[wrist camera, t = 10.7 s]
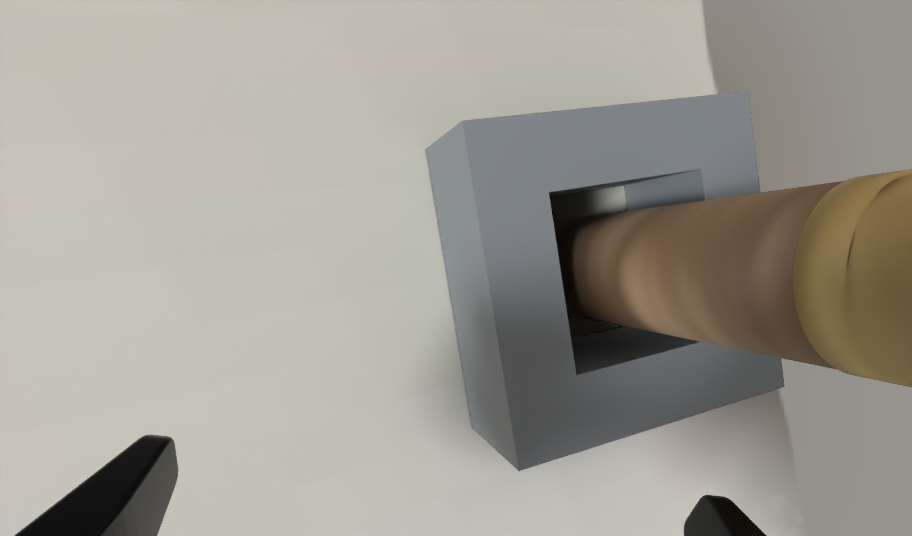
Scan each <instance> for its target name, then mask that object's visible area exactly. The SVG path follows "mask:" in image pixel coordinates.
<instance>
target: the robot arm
mask: <svg viewBox="0 0 912 536" xmlns="http://www.w3.org/2000/svg"><path fill="white" fill-rule="evenodd" d="M177 477H178V464H177V457H176V450H175V443H174V440H173V439H172V438H171V437H168V436H158V435H145V436H143V437H141V438H140V439H138V440H137V441H136V442H134V443H133V444H132V445H131V446H129V447H128V448H127V449H125V450H124V451H123V452H122V453H120V454H119V455H118V456H116V457H115V458H114V459H113V460H111V461H110V462H109V463H107V464H106V465H105V466H103V467H102V468H101V469H100V470H98V471H97V472H96V473H94V474H93V475H92V476H91V477H89V478H88V479H87V480H85V481H84V482H83V483H82V484H80V485H79V486H78V487H76V488H75V489H74V490H73V491H71V492H70V493H69V494H67V495H66V496H65V497H64V498H62V499H61V500H60V501H58V502H57V503H56V504H55V505H53V506H52V507H51V508H49V509H48V510H47V511H45V512H44V513H43V514H42V515H40V516H39V517H38V518H36V519H35V520H34V521H33V522H31V523H30V524H29V525H27V526H26V527H25V528H24V529H22V530H21V531H20V532H18V533H17V534H16V535H15V536H157V534H158V532H159V529H160V526H161V523H162V521H163V518H164V515H165V512H166V510H167V507H168V504H169V501H170V499H171V496H172V493H173V490H174V488H175V485H176V481H177ZM684 536H766V535H765V534H764V533H763V532H762V531H761V530H760V529H759V528H758V527H757V526H756V525H755V524H754V523H753V522H752V521H751V520H750V519H749V518H748V517H747V516H746V515H745V514H744V513H743V512H742V511H741V510H740V509H739V508H738V507H737V506H736V505H735V504H734V503H733V502H732V501H731V500H730V499H728V498H726V497H721V496H712V495H705V496H703V497H702V498H701V499H700V500H699V501H698V503H697V504H696V506H695V507H694V509H693V510H692V512H691V513H690V515H689V516H688V518H687V519H686V521H685V525H684Z"/></svg>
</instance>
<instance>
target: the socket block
mask: <svg viewBox="0 0 912 536" xmlns="http://www.w3.org/2000/svg"><path fill="white" fill-rule="evenodd" d="M755 153H756V152H755V144H754V136H753V128H752V119H751V112H750V103H749V96H748V91H746V92H736V93H727V94H717V95H707V96H698V97H688V98H678V99H669V100H659V101H649V102H640V103H630V104H620V105H611V106H601V107H591V108H582V109H572V110H562V111H553V112H543V113H533V114H524V115H514V116H504V117H495V118H485V119H475V120H466V121H461V122H460V123H459V124H458V125H456V126H455V127H454V128H452V129H451V130H450V131H449V132H447V133H446V134H445V135H443V136H442V137H441V138H440V139H438V140H437V141H436V142H434V143H433V144H432V145H430V146H429V147H428V148H427V149H426V155H427V161H428V167H429V173H430V179H431V185H432V191H433V197H434V203H435V209H436V215H437V221H438V227H439V233H440V239H441V245H442V251H443V257H444V263H445V269H446V275H447V281H448V287H449V293H450V299H451V305H452V311H453V317H454V323H455V329H456V335H457V341H458V347H459V353H460V359H461V365H462V371H463V377H464V383H465V389H466V395H467V401H468V407H469V413H470V419H471V425H472V428H473V429H474V430H475V431H476V432H477V433H478V434H479V435H480V436H482V437H483V438H484V439H485V440H486V441H487V442H488V443H489V444H490V445H491V446H492V447H493V448H495V449H496V450H497V451H498V452H499V453H500V454H501V455H502V456H503V457H504V458H505V459H506V460H508V461H509V462H510V463H511V464H512V465H513V466H514V467H515V468H516V469H517V470H518V471H520V470H523V469H527V468H530V467H533V466H536V465H539V464H542V463H545V462H549V461H552V460H555V459H558V458H561V457H564V456H568V455H571V454H574V453H577V452H580V451H583V450H586V449H590V448H593V447H596V446H599V445H602V444H605V443H608V442H612V441H615V440H618V439H621V438H624V437H627V436H631V435H634V434H637V433H640V432H643V431H646V430H649V429H653V428H656V427H659V426H662V425H665V424H668V423H672V422H675V421H678V420H681V419H684V418H687V417H690V416H694V415H697V414H700V413H703V412H706V411H709V410H712V409H716V408H719V407H722V406H725V405H728V404H731V403H735V402H738V401H741V400H744V399H747V398H750V397H753V396H757V395H760V394H763V393H766V392H769V391H772V390H776V389H779V388H782V387H784V380H783V371H782V363H781V358H779V357H774V356H769V355H764V354H759V353H754V352H749V351H744V350H740V349H735V348H730V347H725V346H720V345H715V344H710V343H705V342H700V341H695V340H690V339H685V338H681V337H676V336H671V335H666V334H661V333H656V332H651V331H646V330H641V329H636V328H631V327H626V326H623V327H619V328H615V329H611V330H607V331H603V332H599V333H595V334H591V335H587V336H583V337H579V338H575V339H571V336H570V329H569V322H568V316H567V309H566V303H565V296H564V289H563V283H562V276H561V270H560V263H559V256H558V250H557V243H556V237H555V230H554V223H553V217H552V210H551V203H550V197H552V196H559V195H565V194H571V193H578V192H584V191H591V190H597V189H604V188H610V187H616V186H623V185H624V187H625V195H626V202H627V209H628V211H631V210H638V209H646V208H653V207H660V206H668V205H675V204H682V203H689V202H697V201H704V200H711V199H718V198H726V197H733V196H740V195H748V194H755V193H760V185H759V177H758V169H757V160H756V154H755Z"/></svg>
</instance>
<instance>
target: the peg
mask: <svg viewBox="0 0 912 536" xmlns="http://www.w3.org/2000/svg"><path fill="white" fill-rule="evenodd" d="M554 230H555V237H556V243H557V250H558V256H559V263H560V270H561V276H562V283H563V289H564V296H565V303H566V309H567V314H568V315H572V316H577V317H582V318H587V319H592V320H597V321H602V322H607V323H612V324H617V325H622V326H626V327H631V328H636V329H641V330H646V331H651V332H656V333H661V334H666V335H671V336H676V337H681V338H685V339H690V340H695V341H700V342H705V343H710V344H715V345H720V346H725V347H730V348H735V349H740V350H744V351H749V352H754V353H759V354H764V355H769V356H774V357H779V358H784V359H789V360H794V361H799V362H803V363H809V364H814V365H818V366H823V367H829V368H833V369H837V370H840V371H842V372H844V373H847V374H851V375H855V376H860V377H865V378H869V379H874V380H879V381H884V382H889V383H894V384H898V385H903V386H908V387H912V169H910V170H903V171H896V172H889V173H882V174H874V175H868V176H861V177H855V178H852V179H849V180H846V181H842V182H835V183H828V184H821V185H814V186H807V187H798V188H792V189H784V190H777V191H769V192H762V193H755V194H748V195H740V196H733V197H726V198H718V199H711V200H704V201H697V202H689V203H682V204H675V205H668V206H660V207H653V208H646V209H638V210H631V211H624V212H617V213H609V214H602V215H595V216H588V217H580V218H573V219H566V220H562V221H559V222H556V223H554Z"/></svg>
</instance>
